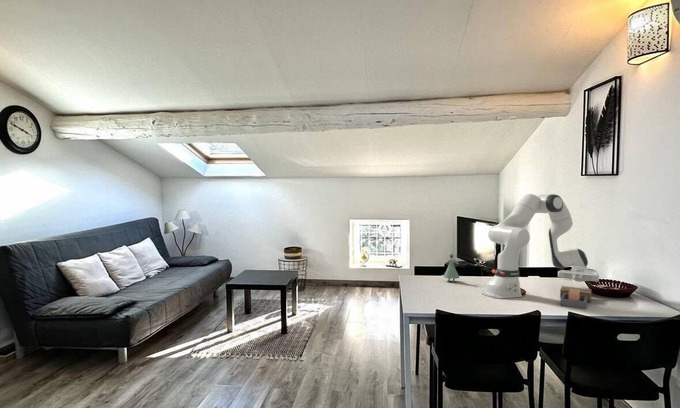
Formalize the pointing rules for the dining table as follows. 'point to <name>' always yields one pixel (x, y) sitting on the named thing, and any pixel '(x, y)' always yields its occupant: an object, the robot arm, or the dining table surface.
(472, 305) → the dining table surface
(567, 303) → the box
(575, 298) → the terracotta block
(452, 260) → the character figurine
